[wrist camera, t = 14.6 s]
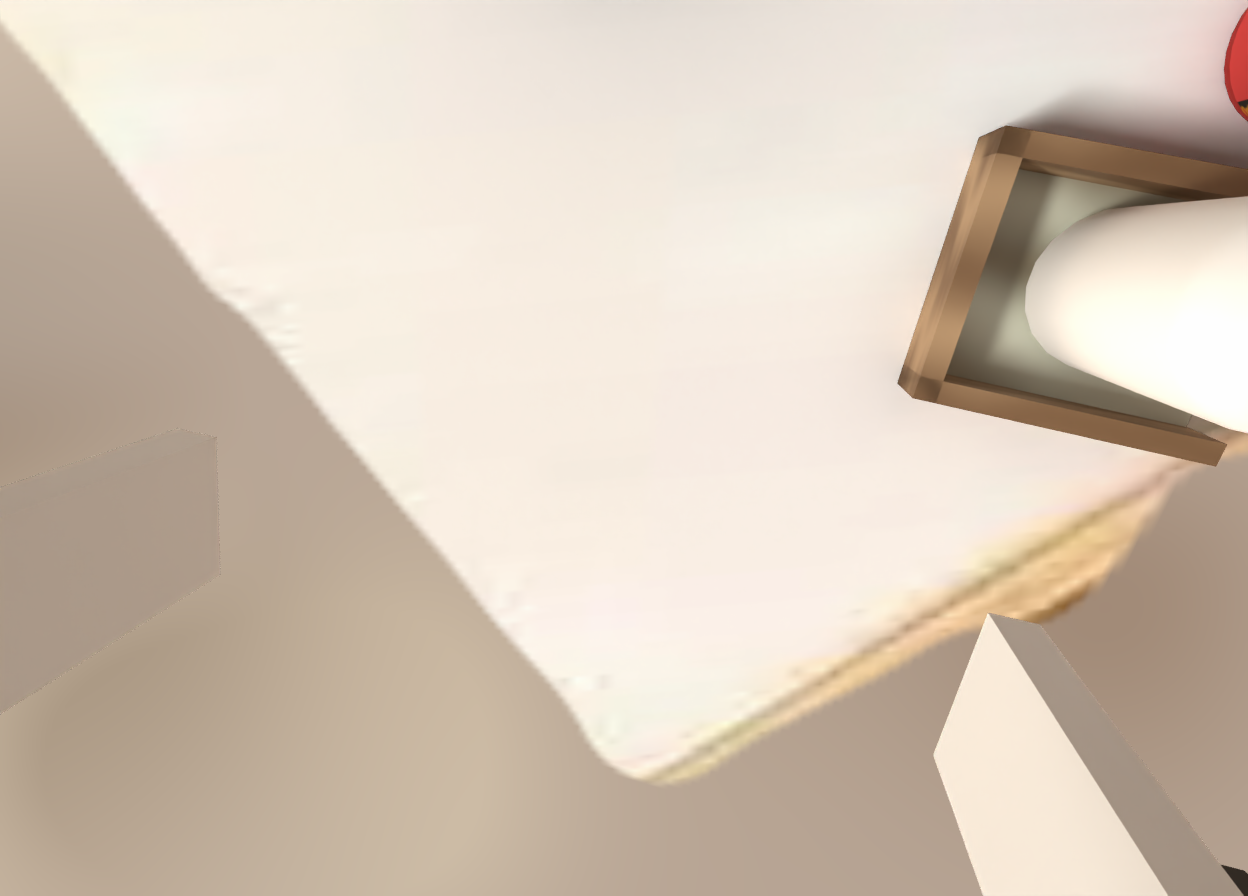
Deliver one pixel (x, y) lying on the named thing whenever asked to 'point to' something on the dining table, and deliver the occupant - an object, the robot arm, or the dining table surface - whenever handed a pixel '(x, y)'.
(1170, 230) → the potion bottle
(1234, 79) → the canned food
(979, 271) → the u rest
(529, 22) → the dining table surface
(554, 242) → the dining table surface
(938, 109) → the dining table surface
